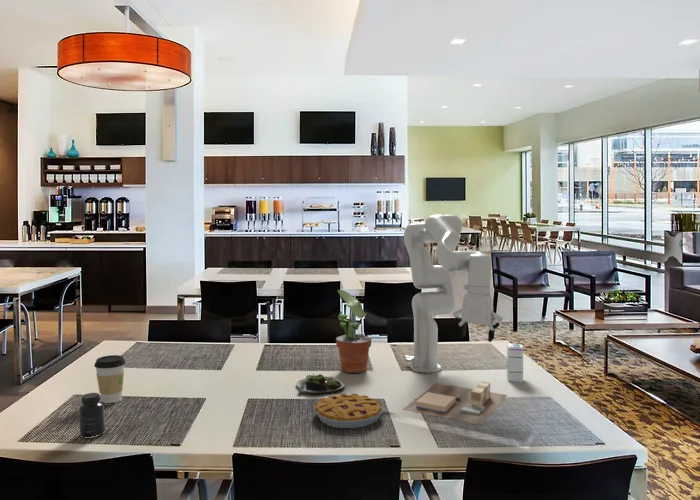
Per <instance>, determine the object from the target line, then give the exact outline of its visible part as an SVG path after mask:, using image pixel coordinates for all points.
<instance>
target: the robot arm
mask: <svg viewBox="0 0 700 500" xmlns="http://www.w3.org/2000/svg"><path fill="white" fill-rule="evenodd" d="M462 230H463V223H462V220H461V219H460V217H459V216H457V215H455V214H432V215H430V216H428V217H427V218H426V219H425V221H421V222H412V223H410V224H408V225H407V226H406V227H405V229H404V233H403V240H404V242H403V243H404V245H405V249H406V250H407V253H408V256H409V263H410V270H411V271H410V272H411V280H412V283H413V286H414V287H415V288H416V289H419V290H427V289H428V290H431V289H432V290H433V289H436V290H437V291H421V292H418V293H416V294H415V295H414V296H413V297H412V300H411V307H412V313H413V329H414V330H413V356H411V355H405V358H404V360H405V362H407V363H410V366H409V368H410V370H412V371H413V372H416V373H421V374H422V373H424V374H432V373H433V374H434V373H437V372H440V371H441V370H442V366H441V365H440V364H439V363H438V340H439V339H438V338H439V337H438V332H439V329H438V324H437V322H436V320H435V319H434V318H433V316H439V315H448V314H451V313H452V315H453V317H454V319H455V321H456V323H457V324H458V326H459V335H460V338H461V339H462V338H464V337H466V335H467V333H466V331H467V325H466V323H468V324H474V325H483V326H487V327H488V328H489V329H488V334H487V337H488V339H487V342H489V343H491V342H492V341H493V340H495V332H496V331H495V330H496V329H497V328H499V327H500V326H501V324H502V323H503V321H504V318H503V317H502V316H500V315H499V314H497V313H496V312H494V302H493V295H492V294H491V279H492V278H491V276H492V257H491V255H490V254H487V253H482V252H480V251H478V250H454V249H455V248H457V247H458V245H459V243H460V240H461V239H460V234H461V233H462ZM434 243H436V244H437V246H436V258H437V260H438V262H439V263H440V265H439V264H436V265H435V264H434V265H433V264H432V259H431V254H430V252H429V250H428V249H427V248H426V247H425V246H424V245H423V244H434ZM451 273H452V274H453V273H467V284H463V290H466V292H464V296H463V300H462V306H461V308H460V309H457V310H455V311H454V309H455V293H454V289H453V282H452V281H453V280H452V274H451ZM459 314H461V316H460V315H459ZM494 319H496V323H494V321H493V320H494Z"/></svg>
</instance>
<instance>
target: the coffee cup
mask: <svg viewBox="0 0 700 500" xmlns="http://www.w3.org/2000/svg"><path fill="white" fill-rule="evenodd" d="M125 364H126V360H125V359H124V356H122V355H119V354H115V355H114V354H113V355H106V356H105V355H103V356H101V357H98V358H97V359H96V360H95V363H94V368H95V370H96V375H95V376H96V380H97V385H98V386H97V387H98V393H99V396H100V402H101V403H102V402H104V403H112V402H117V401H119V400H121V401H122V396H123V386H124V374H125V370H124V369H125Z"/></svg>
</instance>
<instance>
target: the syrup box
mask: <svg viewBox="0 0 700 500" xmlns="http://www.w3.org/2000/svg"><path fill="white" fill-rule="evenodd" d="M506 379H507V382H520V383H523V382H524V346H523V344H522V343H507V344H506Z"/></svg>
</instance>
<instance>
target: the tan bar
mask: <svg viewBox="0 0 700 500" xmlns="http://www.w3.org/2000/svg"><path fill="white" fill-rule="evenodd" d="M473 389H474V390H473V391H472V392H471V404H467V403H466V405H465V406H464V407H463V408H462V409H461V412H465V413H470V414H475V415H480V414H481V413H482V411H483V410H484V409H485V407H484V406H482V405H483V404H484V403H485V402H486V401H487V400H488V399H489V398H490V392H491V382H487V381H481V382H479V384H477V386H476V387H474V388H473Z"/></svg>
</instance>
